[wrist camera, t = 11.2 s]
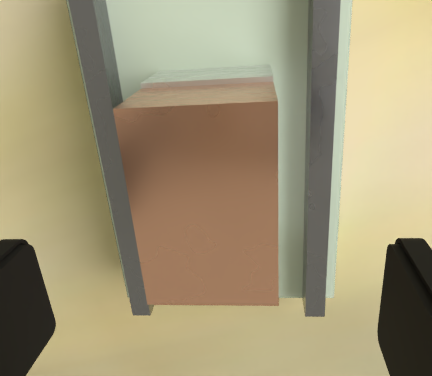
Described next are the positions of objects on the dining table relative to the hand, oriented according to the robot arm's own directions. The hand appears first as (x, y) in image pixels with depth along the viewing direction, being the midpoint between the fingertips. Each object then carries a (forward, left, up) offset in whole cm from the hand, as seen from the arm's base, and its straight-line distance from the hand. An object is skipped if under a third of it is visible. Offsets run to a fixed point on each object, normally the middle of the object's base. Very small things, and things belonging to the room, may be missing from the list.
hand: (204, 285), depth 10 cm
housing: (0, 0, -10) cm, 10 cm away
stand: (0, +1, -13) cm, 13 cm away
